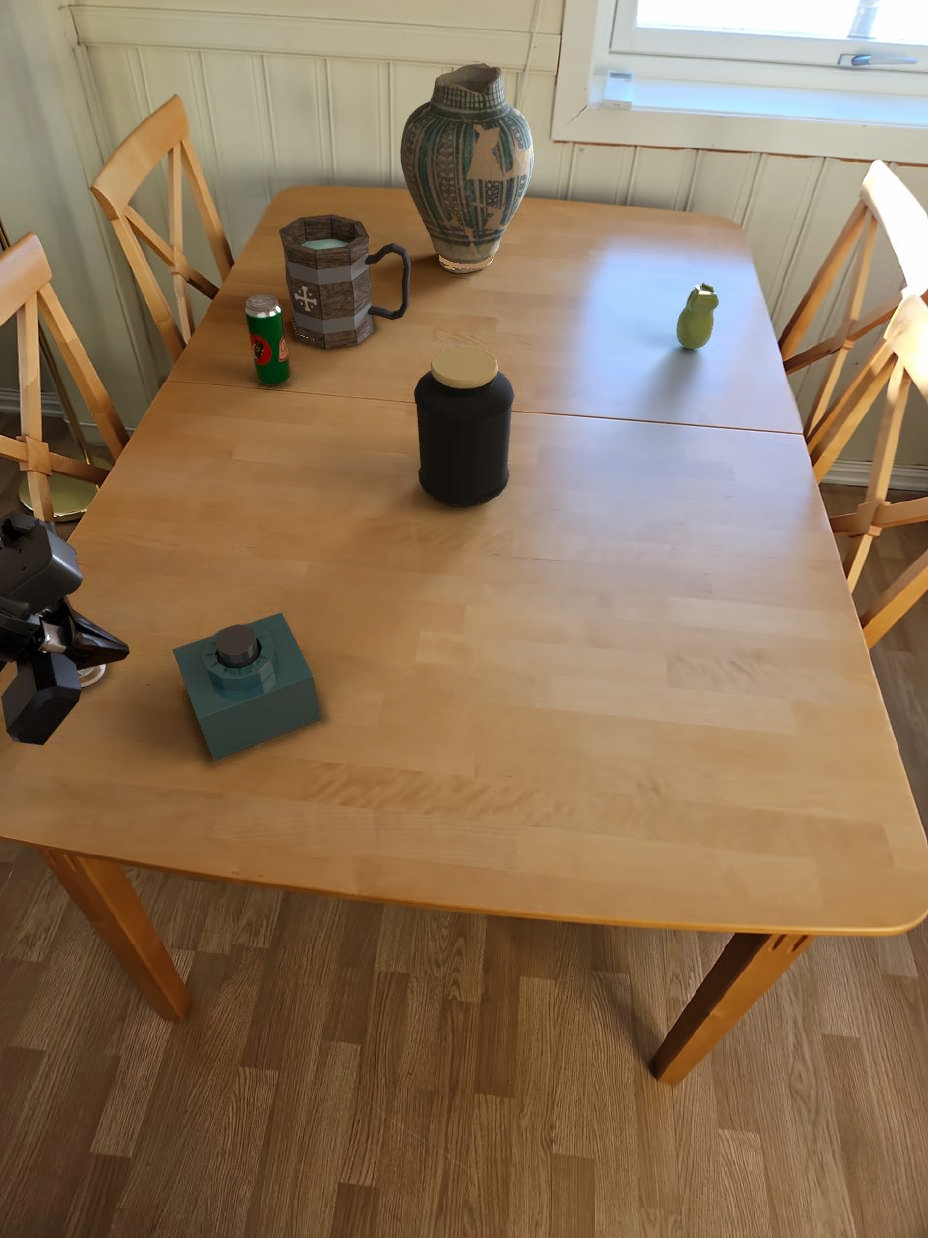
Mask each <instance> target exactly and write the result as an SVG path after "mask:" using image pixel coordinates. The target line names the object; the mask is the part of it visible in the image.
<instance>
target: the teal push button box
mask: <svg viewBox="0 0 928 1238" xmlns="http://www.w3.org/2000/svg"><path fill="white" fill-rule="evenodd" d="M235 625H244V626H247V627H249V628H251V629H252V630H253V631H254V633H255V636H256V640H257V644H258V648H259V654H258V657H257V658H256V660H255V661H254V662H253V663H251V664H250V665H248V666H245V667H242V668H230V667H228V666H226V665H224V664H223V663H222V661H221V660H220V656H219V653H218V650H217V647H216V638H217V636H218V634H219V633H220V632H221V631H222V630H224V629H225V628H226V627H224V628H221V629H220V630H217V632H215V634H213V635H211V636H207V637H205V638H202V639H199V640H196V641H192V642H190V643H187V644H184V645H181V646H179V647H175V648H172V653H173V656H174V659H175V662H176V663H177V667H178V670H179V672H180V675H181V678H182V681H183V684H184V686H185V689H186V691H187V695H188V697H189V699H190V702H191V705H192V708H193V711H194V713H195V716H196V719H197V721H198V724H199V727H200V729H201V732H202V735H203V738H204V740H205V742H206V745H207V748H208V750H209V753H210V755H211V757H212V758H211V759H212V761H213V762H215V761H218V760H220V759H223V758H225V757H228V756H230V755H233V754H236V753H238V752H241V751H244V750H247V749H250V748H251V747H254V746H256V745H259V744H262V743H265V742H267V741H269V740H272V739H275V738H277V737H279V736H282V735H285V734H288V733H290V732H292V731H295V730H297V729H299V728H303V727H305V726H307V725H310V724H313V723H316V722H318V721H321V720H322V716H321V710H320V705H319V699H318V694H317V688H316V682H315V678H314V674H313V671H312V670H311V668H310V666H309V664H308V662H307V660H306V658H305V656H304V654H303V652H302V650H301V648H300V646H299V644H298V641H297V639H296V638H295V636H294V634H293V631H292V630H291V627H290V626H289V624H288V621H287V619H286V618H285V616H284V613H283V612H282V611H281V612H279V613H275V614H273V615H269V616H267V617H263V618H260V619H258V620H254V621H252V622H249V623H246V624H243V623H235Z"/></svg>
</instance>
